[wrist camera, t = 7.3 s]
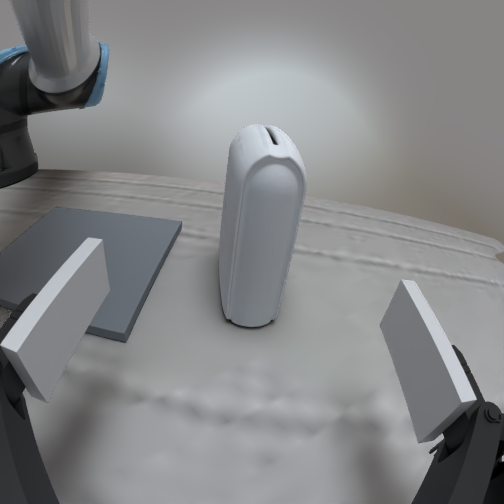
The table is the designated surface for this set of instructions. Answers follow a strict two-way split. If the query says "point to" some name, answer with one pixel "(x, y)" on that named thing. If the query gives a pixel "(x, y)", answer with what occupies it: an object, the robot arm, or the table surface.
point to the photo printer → (259, 223)
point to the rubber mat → (116, 256)
